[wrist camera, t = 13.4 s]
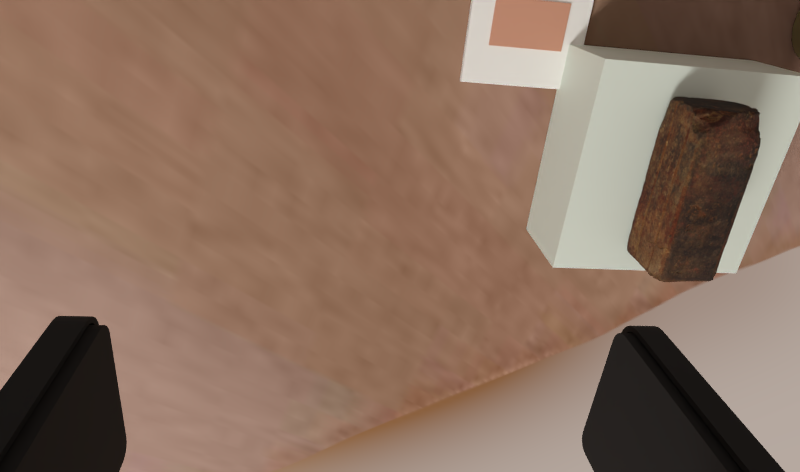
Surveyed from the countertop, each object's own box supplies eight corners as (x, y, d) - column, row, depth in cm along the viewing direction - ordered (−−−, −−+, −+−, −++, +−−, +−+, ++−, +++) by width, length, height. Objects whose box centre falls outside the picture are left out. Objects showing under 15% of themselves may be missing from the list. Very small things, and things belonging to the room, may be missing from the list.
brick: (676, 249, 40) (717, 284, 35) (622, 248, 39) (657, 284, 35) (724, 96, 35) (778, 116, 31) (664, 93, 34) (710, 113, 30)
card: (478, -51, 35) (480, -51, 35) (599, -37, 36) (603, -37, 36) (459, 80, 39) (461, 81, 38) (570, 89, 40) (573, 90, 39)
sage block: (567, 43, 38) (605, 58, 33) (753, 60, 40) (818, 77, 35) (526, 229, 44) (552, 267, 39) (689, 236, 46) (736, 273, 41)
